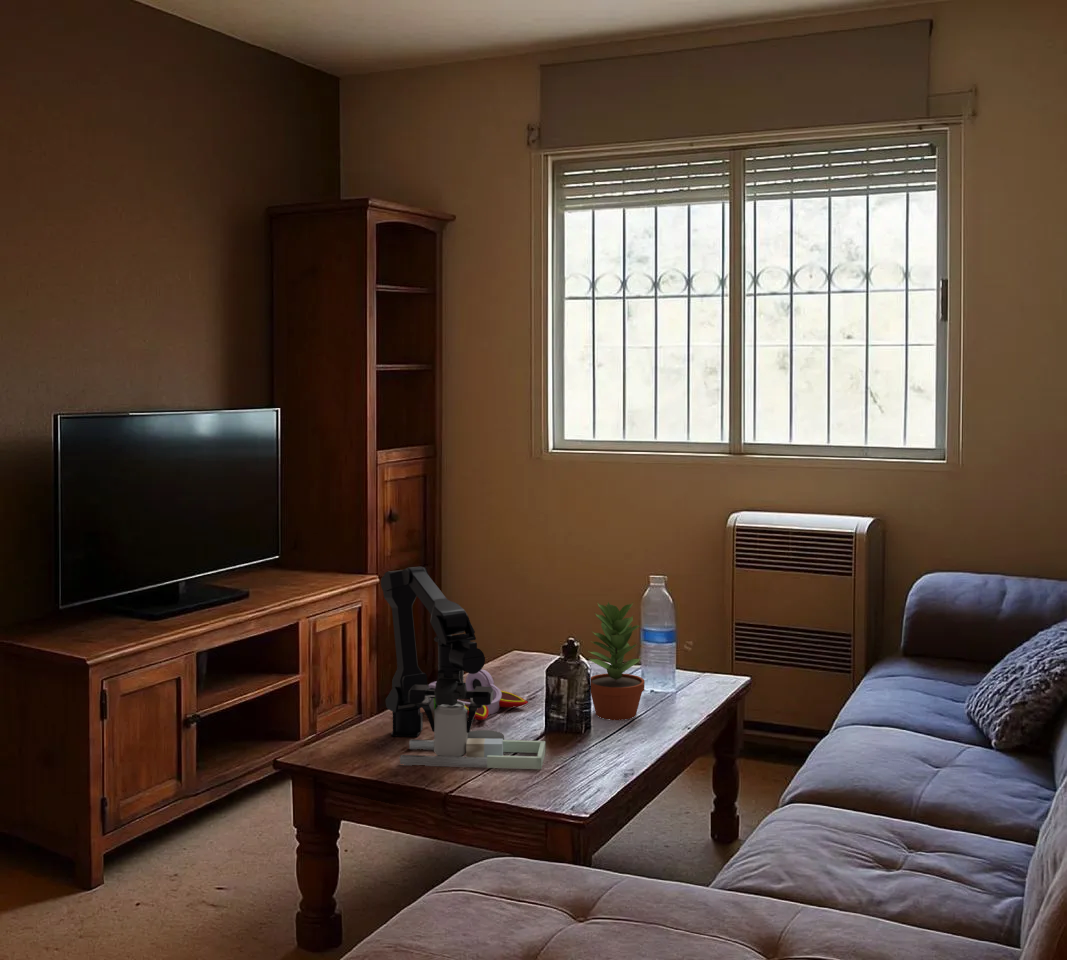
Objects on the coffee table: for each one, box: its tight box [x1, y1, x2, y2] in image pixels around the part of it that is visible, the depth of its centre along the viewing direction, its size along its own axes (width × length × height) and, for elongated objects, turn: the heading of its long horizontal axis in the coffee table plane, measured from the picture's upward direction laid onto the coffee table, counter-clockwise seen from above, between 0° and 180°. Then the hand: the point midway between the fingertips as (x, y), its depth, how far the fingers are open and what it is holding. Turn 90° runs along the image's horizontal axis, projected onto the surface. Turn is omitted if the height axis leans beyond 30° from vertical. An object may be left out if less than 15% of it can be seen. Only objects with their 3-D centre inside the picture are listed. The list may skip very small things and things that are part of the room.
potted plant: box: [587, 601, 645, 721], centre depth 300 cm, size 15×15×30 cm
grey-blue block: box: [484, 738, 504, 757], centre depth 267 cm, size 4×4×4 cm
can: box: [433, 700, 468, 757], centre depth 267 cm, size 8×8×12 cm
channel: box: [399, 739, 487, 769], centre depth 268 cm, size 20×12×2 cm, turn 85°
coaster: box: [467, 729, 505, 740], centre depth 281 cm, size 10×10×1 cm
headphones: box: [428, 668, 529, 721], centre depth 305 cm, size 20×10×20 cm
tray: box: [487, 739, 546, 770], centre depth 267 cm, size 12×12×2 cm
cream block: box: [465, 738, 485, 757], centre depth 267 cm, size 4×4×4 cm
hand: (451, 731), depth 267 cm, fingers closed on can, 7 cm apart
